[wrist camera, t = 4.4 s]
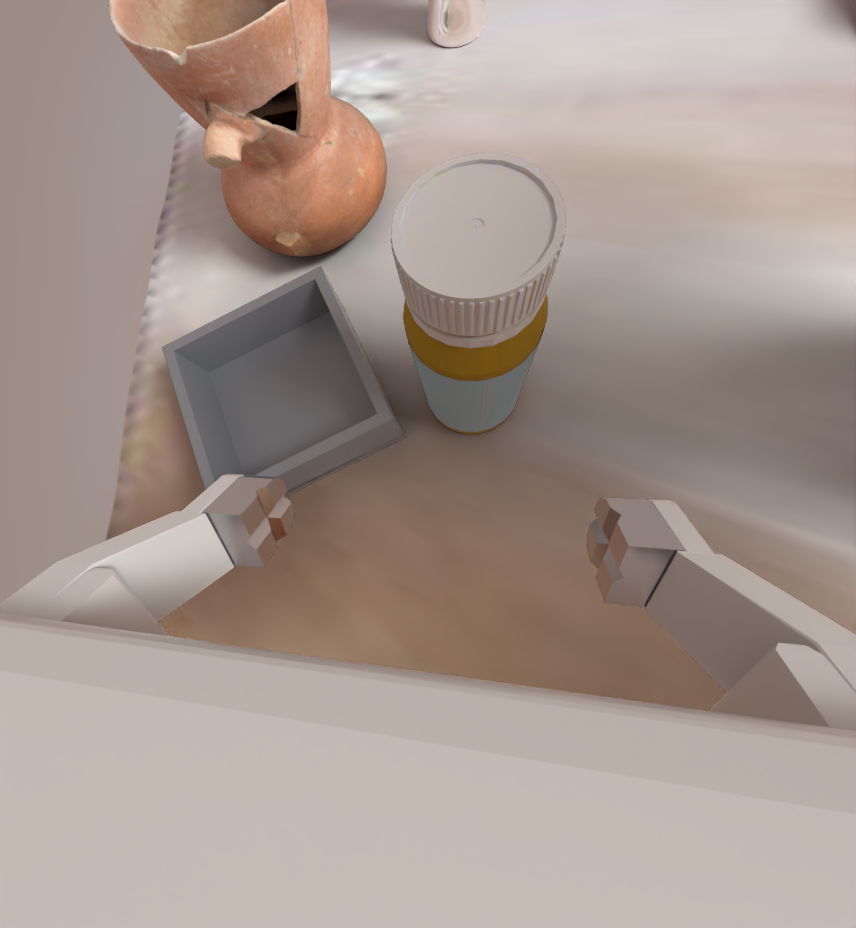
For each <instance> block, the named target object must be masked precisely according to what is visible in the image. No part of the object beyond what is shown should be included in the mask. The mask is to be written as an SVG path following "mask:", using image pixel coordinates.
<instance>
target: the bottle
mask: <svg viewBox="0 0 856 928" xmlns="http://www.w3.org/2000/svg"><path fill="white" fill-rule="evenodd" d="M565 227H566V212H565V206H564V202H563V199H562V196H561V194H560V192H559V190H558V188H557V187H556V185H555V184H554V182H553V181H552V180H551V179H550V178H549V177H548V175H546V174H545V173H544V172H543V171H542V170H541V169H539V168H538V167H536V166H535V165H533V164H531V163H529V162H527V161H525V160H523V159H520V158H517V157H514V156H510V155H505V154H499V153H476V154H469V155H464V156H460V157H456V158H453V159H450V160H448V161H445V162H443V163H441V164H439V165H437V166H435V167H433V168H432V169H430V170H429V171H427V172H426V173H424V174H423V175H422V176H420V177H419V178H418V179H417V180H416V181H415V182H414V183H413V184H412V185H411V186H410V187H409V188H408V190H407V191H406V192H405V194H404V195H403V197H402V198H401V200H400V202H399V204H398V206H397V208H396V211H395V213H394V217H393V221H392V229H391V243H392V246H391V247H392V251H393V256H394V260H395V263H396V267H397V271H398V274H399V278H400V282H401V285H402V289H403V291H404V295H405V304H404V314H403V320H404V325H405V330H406V334H407V338H408V342H409V345H410V348H411V352H412V355H413V358H414V361H415V364H416V367H417V370H418V374H419V377H420V380H421V383H422V386H423V389H424V392H425V396H426V399H427V402H428V405H429V407H430V409H431V411H432V413H433V414H434V416H435V417H436V419H437V420H438V421H439V422H440V423H442V424H443V425H444V426H446V427H447V428H449V429H450V430H453V431H456V432H459V433H463V434H479V433H483V432H487V431H490V430H492V429H494V428H496V427H497V426H499V425H500V424H502V423H503V422H504V421H505V420H506V419H507V418H508V416H509V415H510V414H511V412H512V411H513V409H514V407H515V405H516V402H517V399H518V397H519V394H520V391H521V389H522V386H523V384H524V381H525V378H526V376H527V373H528V370H529V368H530V365H531V362H532V360H533V357H534V354H535V352H536V349H537V346H538V344H539V341H540V338H541V336H542V333H543V331H544V327H545V323H546V320H547V304H548V300H547V295H546V291H547V288H548V287H549V284H550V281H551V278H552V275H553V272H554V269H555V266H556V263H557V260H558V257H559V254H560V251H561V248H562V245H563V242H564V236H565V232H566V231H565Z"/></svg>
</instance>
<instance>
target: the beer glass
mask: <svg viewBox="0 0 856 928" xmlns="http://www.w3.org/2000/svg"><path fill="white" fill-rule="evenodd" d="M485 25H486V5H485V0H428V22H427V29H428V35H429V37H430V39H431V40H432V41H433V42H434V43H436V44H437V45H439V46H442V47H449V48H452V47H460V46H463V45H466V44H468V43H470V42H472V41H474V40H475V39H476V38H477V37H478V36H479V35H480V34H481V33H482V32H483V30H484V28H485Z"/></svg>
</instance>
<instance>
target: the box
mask: <svg viewBox="0 0 856 928" xmlns="http://www.w3.org/2000/svg"><path fill="white" fill-rule="evenodd" d="M162 349H163V353H164V356H165V359H166V363H167V366H168V369H169V373H170V376H171V379H172V383H173V386H174V389H175V392H176V396H177V399H178V402H179V406H180V409H181V412H182V416H183V419H184V422H185V425H186V429H187V432H188V435H189V439H190V442H191V445H192V449H193V452H194V455H195V458H196V462H197V465H198V468H199V472H200V475H201V478H202V482H203V485H204V488H205V490H206V489H207V488H209V487H210V486H211V485H212V484H213V483H214V482H215V481H217V480H218V479H219V478H220V477H221V476H222V475H226V474H241V475H255V476H267V477H278V478H280V479H282V480H284V483H285V485H286V488H287V491H286V493H285V495H284V496H285V497H286V496H288V495H290V494H292V493H294V492H296V491H298V490H300V489H302V488H304V487H306V486H308V485H310V484H312V483H315V482H317V481H319V480H321V479H323V478H325V477H327V476H329V475H331V474H333V473H335V472H337V471H339V470H341V469H343V468H345V467H347V466H349V465H351V464H353V463H355V462H357V461H359V460H361V459H363V458H365V457H367V456H369V455H371V454H373V453H375V452H377V451H379V450H381V449H383V448H385V447H387V446H389V445H391V444H393V443H395V442H397V441H400V440H402V439H404V438H406V437H405V435H404V433H403V431H402V429H401V426H400V424H399V422H398V420H397V418H396V416H395V414H394V412H393V410H392V408H391V406H390V403H389V401H388V399H387V397H386V395H385V393H384V391H383V389H382V387H381V385H380V382H379V380H378V378H377V376H376V374H375V372H374V370H373V368H372V366H371V364H370V362H369V359H368V357H367V355H366V353H365V351H364V349H363V347H362V345H361V343H360V341H359V339H358V336H357V334H356V332H355V330H354V328H353V326H352V324H351V322H350V320H349V318H348V315H347V313H346V311H345V309H344V307H343V305H342V303H341V302H340V300H339V298H338V296H337V294H336V293H335V291H334V289H333V287H332V285H331V284H330V282H329V280H328V278H327V277H326V275H325V273H324V271H323V269H322V268H321V266H320V267H318V268H316V269H314V270H312V271H310V272H308V273H306V274H304V275H302V276H300V277H298V278H297V279H295V280H293V281H291V282H289V283H287V284H285V285H283V286H281V287H279V288H277V289H275V290H273V291H271V292H269V293H267V294H265V295H263V296H261V297H259V298H257V299H255V300H253V301H251V302H249V303H247V304H246V305H244V306H242V307H240V308H238V309H236V310H234V311H232V312H230V313H228V314H226V315H224V316H222V317H220V318H218V319H216V320H214V321H212V322H210V323H208V324H206V325H204V326H202V327H200V328H198V329H196V330H195V331H193V332H191V333H189V334H187V335H185V336H183V337H181V338H179V339H177V340H175V341H173V342H171V343H169V344H167V345H165V346H163V347H162Z"/></svg>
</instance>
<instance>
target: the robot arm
mask: <svg viewBox="0 0 856 928" xmlns="http://www.w3.org/2000/svg"><path fill="white" fill-rule="evenodd" d="M286 491H287V488H286V485H285V483H284V480H282V479H280V478H278V477H267V476H255V475H241V474H226V475H222V476H221V477H220V478H219V479H218V480H217V481H215V482H214V483H213V484H212V485H211V486H210V487H209V488H207V489H206V490H205V491H204V492H203V493H202V494H201V495H199V496H198V497H197V498H196V499H195V500H194V501H192V502H191V503H190V504H189V505H188V506H187V507H186V508H184V509H183V510H182V511H175V512H172V513H170V514H168V515H165V516H163V517H161V518H158V519H156V520H153V521H151V522H149V523H146V524H144V525H142V526H139V527H137V528H135V529H132V530H130V531H128V532H125V533H123V534H120V535H118V536H116V537H113V538H111V539H109V540H106V541H104V542H102V543H99V544H97V545H95V546H92V547H90V548H88V549H85V550H83V551H81V552H78V553H76V554H73V555H71V556H69V557H66V558H64V559H62V560H59V561H57V562H56V563H54V564H53V565H52V566H50V567H49V568H48V569H46V570H45V571H43V572H42V573H41V574H39V575H38V576H37V577H35V578H34V579H33V580H31V581H30V582H29V583H27V584H26V585H25V586H23V587H22V588H21V589H19V590H18V591H16V592H15V593H14V594H12V595H11V596H10V597H8V598H7V599H6V600H4V601H3V602H2V603H0V928H856V634H854V633H852V632H851V631H849V630H847V629H846V628H844V627H842V626H841V625H839V624H837V623H836V622H834V621H832V620H831V619H829V618H827V617H826V616H824V615H822V614H821V613H819V612H817V611H816V610H814V609H812V608H811V607H809V606H807V605H806V604H804V603H802V602H801V601H799V600H797V599H796V598H794V597H792V596H791V595H789V594H787V593H786V592H784V591H782V590H781V589H779V588H777V587H776V586H774V585H772V584H771V583H769V582H768V581H766V580H764V579H763V578H761V577H759V576H758V575H756V574H754V573H753V572H751V571H749V570H748V569H746V568H744V567H743V566H741V565H739V564H738V563H736V562H734V561H733V560H731V559H729V558H728V557H726V556H724V555H722V554H714V553H713V551H712V550H711V549H710V547H709V546H708V545H707V543H706V542H705V541H704V539H703V538H702V537H701V535H700V534H699V533H698V531H697V530H696V529H695V527H694V526H693V525H692V523H691V522H690V521H689V519H688V518H687V517H686V515H685V514H684V513H683V511H682V510H681V509H680V507H679V506H678V505H677V504H676V503H675V502H673V501H671V500H653V499H647V500H639V499H621V498H603V497H601V498H600V499H599V500H598V502H597V504H596V507H595V513H596V515H597V518H598V519H596V520H595V521H593V522H592V523H591V524H590V526H589V529H588V533H587V551H588V555H589V558H590V562H591V563H592V564H594V565H595V566H596V567H597V568H598V569H599V570H598V573H597V576H596V579H597V582H598V585H599V588H600V591H601V594H602V597H603V600H604V602H606V603H614V604H622V605H630V606H638V607H645V610H646V611H647V612H648V613H649V614H650V615H651V616H652V617H653V618H654V619H655V620H656V621H657V622H658V623H659V624H660V625H661V626H662V627H663V628H664V630H665V631H666V632H667V633H668V634H669V635H670V636H671V637H672V638H673V639H674V640H675V641H676V642H677V643H678V644H679V645H680V646H681V647H682V648H683V649H684V650H685V651H686V652H687V653H688V654H689V655H690V656H691V657H692V658H693V659H694V660H695V661H696V662H697V663H698V665H699V666H700V667H701V668H702V669H703V670H704V671H705V672H706V673H707V674H708V675H709V676H710V677H711V678H712V679H713V680H714V681H715V682H716V683H717V684H718V685H719V686H720V687H721V688H722V689H723V690H724V691H725V692H726V694H725V695H724V696H723V697H722V698H721V699H720V700H719V701H718V702H717V703H716V704H715V705H714V706H712V708H711V709H710V711H706V710H699V709H692V708H685V707H677V706H670V705H663V704H656V703H648V702H641V701H634V700H627V699H620V698H612V697H605V696H598V695H591V694H583V693H576V692H569V691H562V690H555V689H547V688H540V687H533V686H526V685H518V684H511V683H504V682H497V681H490V680H482V679H475V678H468V677H461V676H454V675H446V674H439V673H432V672H425V671H418V670H410V669H403V668H396V667H389V666H382V665H375V664H367V663H360V662H353V661H346V660H339V659H331V658H324V657H317V656H309V655H302V654H295V653H288V652H280V651H273V650H266V649H259V648H251V647H244V646H237V645H230V644H222V643H215V642H208V641H201V640H193V639H186V638H179V637H172V636H168V633H167V632H166V630H165V629H164V628H163V627H162V626H161V625H160V623H159V621H160V620H162V619H163V618H164V617H166V616H167V615H169V614H170V613H171V612H173V611H174V610H175V609H177V608H178V607H180V606H181V605H182V604H184V603H185V602H187V601H188V600H189V599H191V598H192V597H194V596H195V595H196V594H198V593H199V592H201V591H202V590H203V589H205V588H206V587H207V586H209V585H210V584H212V583H213V582H214V581H216V580H217V579H219V578H220V577H221V576H223V575H224V574H226V573H227V572H228V571H230V570H231V569H232V568H234V566H248V567H262V568H265V566H266V565H267V563H268V562H269V560H270V559H271V558H272V556H273V555H274V553H275V552H276V550H277V549H278V545H277V541H278V540H280V539H282V538H283V537H285V536H287V534H288V532H289V531H290V529H291V528H292V524H293V520H294V508H293V505H292V502H290V501H289V500H288V499H287V498H286V497H285V496H284V495H285V493H286Z"/></svg>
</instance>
